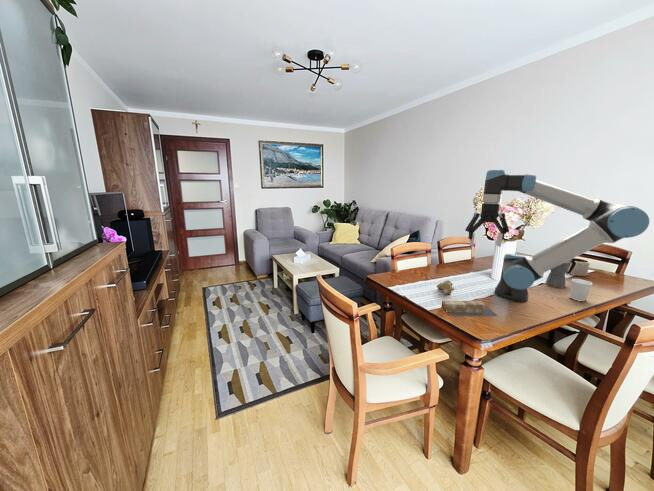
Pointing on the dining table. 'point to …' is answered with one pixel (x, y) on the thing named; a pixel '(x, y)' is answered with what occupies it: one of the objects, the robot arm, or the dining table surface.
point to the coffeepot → (559, 274)
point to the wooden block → (463, 306)
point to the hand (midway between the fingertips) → (484, 245)
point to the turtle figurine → (446, 287)
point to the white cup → (580, 289)
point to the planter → (580, 267)
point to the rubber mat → (475, 313)
